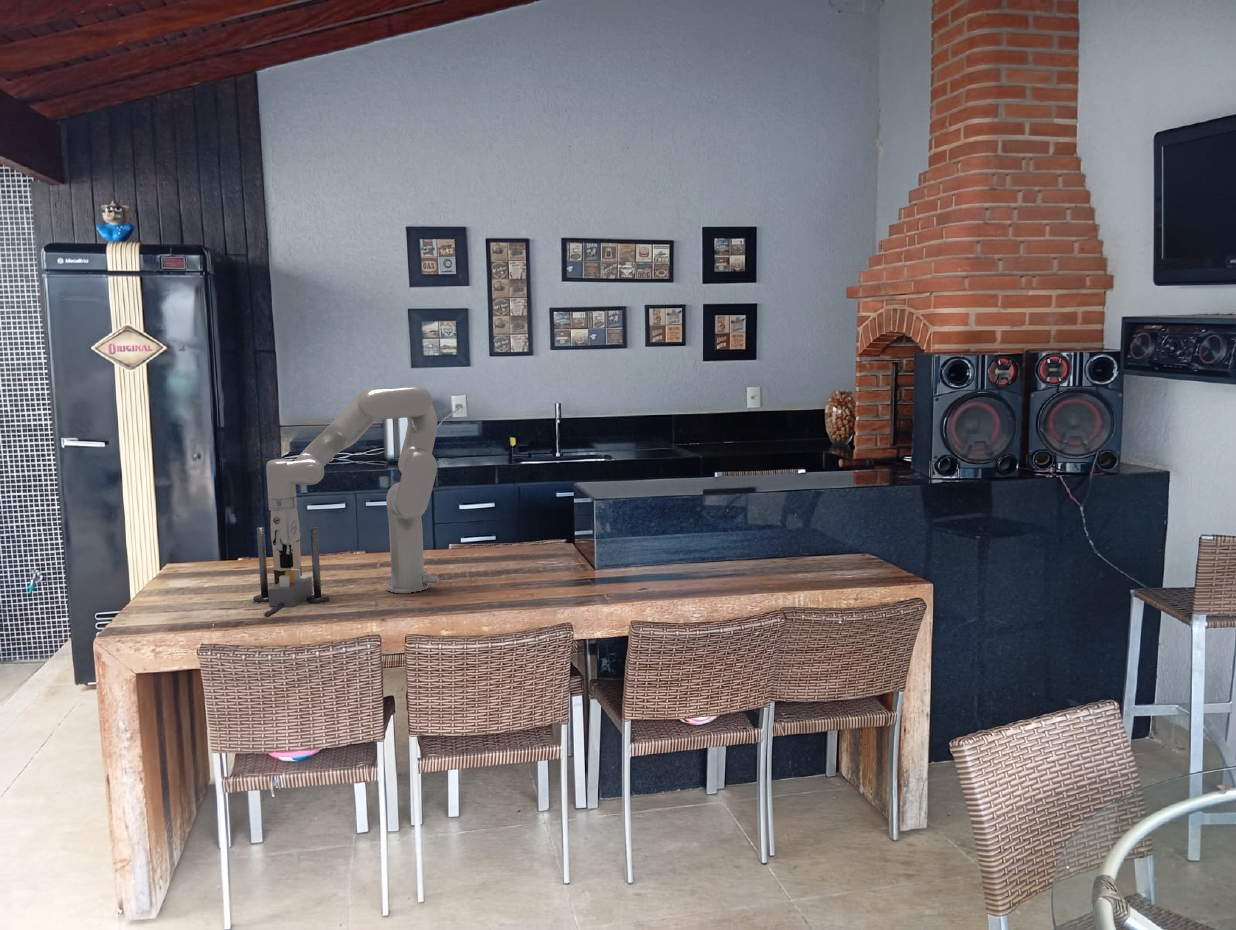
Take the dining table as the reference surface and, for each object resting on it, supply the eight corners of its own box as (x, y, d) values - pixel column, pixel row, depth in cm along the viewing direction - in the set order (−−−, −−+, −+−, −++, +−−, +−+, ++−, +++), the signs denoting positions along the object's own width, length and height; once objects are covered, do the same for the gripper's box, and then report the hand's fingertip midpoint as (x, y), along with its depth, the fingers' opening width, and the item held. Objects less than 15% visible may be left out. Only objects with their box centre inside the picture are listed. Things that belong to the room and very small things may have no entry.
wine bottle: (294, 584, 325) (288, 486, 321) (268, 584, 326) (262, 486, 322) (307, 578, 333) (301, 482, 329) (282, 577, 335) (276, 481, 330)
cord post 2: (332, 597, 309) (328, 525, 306) (324, 603, 303) (320, 530, 300) (311, 597, 310) (307, 525, 307) (302, 603, 303) (298, 530, 301)
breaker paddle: (295, 581, 307) (294, 571, 306) (293, 582, 306) (293, 572, 305) (287, 581, 307) (286, 571, 307) (285, 582, 306) (284, 572, 305)
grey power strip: (312, 593, 314) (311, 566, 313) (279, 616, 290) (277, 587, 289) (289, 593, 314) (288, 566, 313) (254, 616, 291) (252, 587, 290)
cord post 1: (280, 597, 311) (276, 525, 308) (271, 603, 304) (266, 530, 301) (259, 597, 311) (254, 525, 308) (249, 602, 305) (244, 530, 302)
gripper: (285, 508, 293) (289, 573, 296) (305, 498, 308) (309, 561, 311) (258, 508, 294) (263, 573, 297) (280, 498, 309) (284, 561, 311)
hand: (286, 567), depth 304 cm, fingers closed
